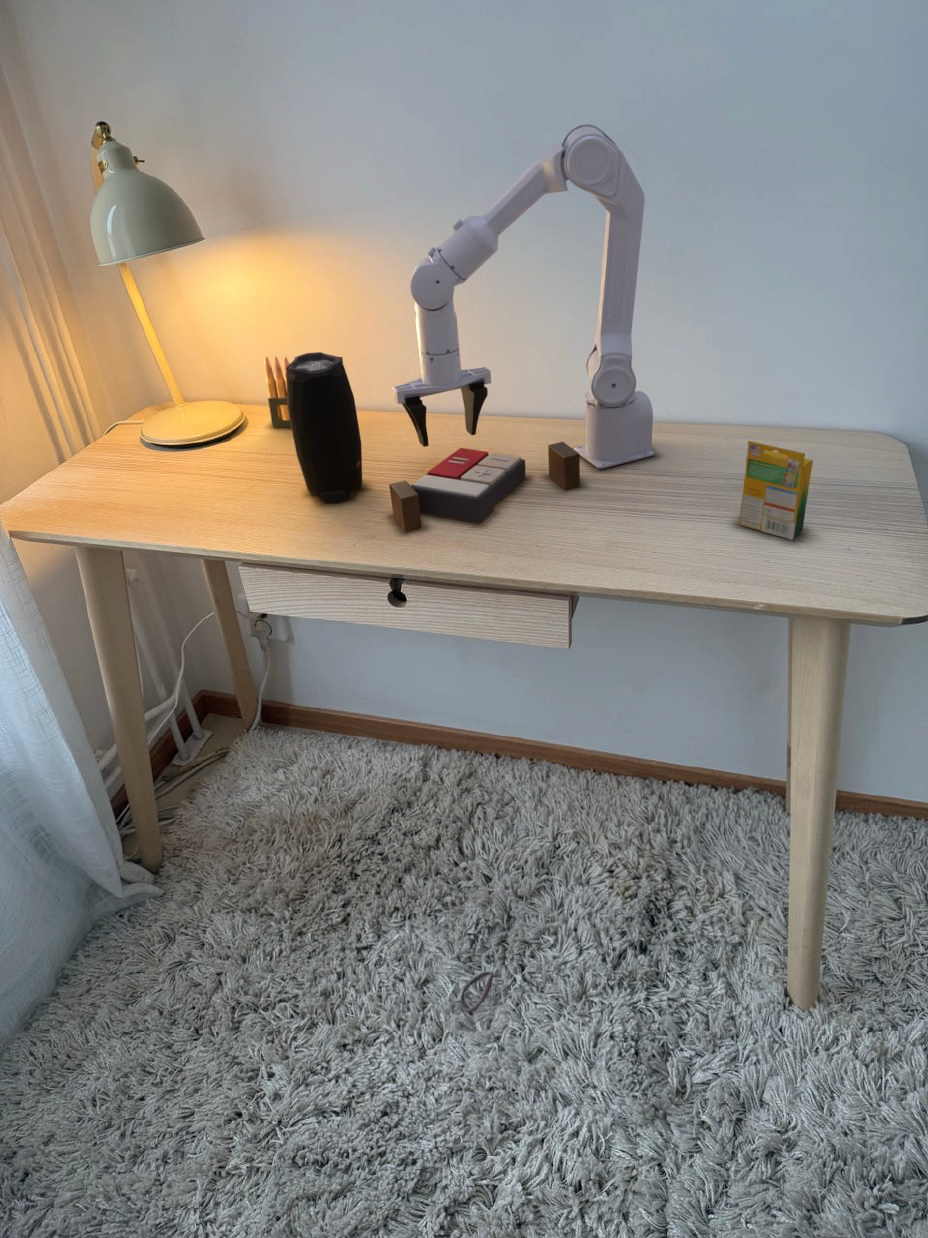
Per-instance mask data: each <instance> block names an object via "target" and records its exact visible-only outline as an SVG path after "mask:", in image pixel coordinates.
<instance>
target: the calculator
mask: <svg viewBox="0 0 928 1238" xmlns="http://www.w3.org/2000/svg"><path fill="white" fill-rule="evenodd" d="M525 480H526V459H524V458H522V457H521V456H520V455H512V454H506V453H499V452H491V453H489V452H488V451H485V450H478V449H471V448H464V447H460V448H458V449H457V450H455V451H454V452H452V453H451V454H450V455H448V456H447V457H445V458H444V459H443V460H442V461H440V462H439V463H438V464H436V465H435V466H433V467H432V468H431V469H430V470H428V471H427V473H426V474H424V475H422V477H420V478H419V479H417V480H416V481H414V483H412V484H411V485H410V486H411V487H412V488H413V489H414V490H415V492H416V493H417V494H418V498H419V507H420V514H421V513H422V514H426V515H431V516H432V515H433V516H438V517H443V518H448V519H453V520H459V521H463V522H471V523H475V524H480V523H482V522H483V521H484V520H486V519H487V518H488V517H489V516H490V515H491V514H492V513H493V511H494V509H495V507H496V505H498V503H500V502H501V501H502V500H503V499H504V498H506V496H508V495H509V494H510V493H511V492H512V491H514V489H516V488H517V487H518V486H519V485H520V484H521V483H522V482H524V481H525Z"/></svg>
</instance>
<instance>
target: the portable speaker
mask: <svg viewBox="0 0 928 1238" xmlns="http://www.w3.org/2000/svg"><path fill="white" fill-rule="evenodd" d="M295 357H296V358H295V359H294V358H293V360H292V361H291V362H289V365H288V366H287V367H286V381H287V407H288V413H289V418H290V423H291V427H290V428H291V433H292V439H293V442H294V448H295V453H296V457H297V461H298V465H299V466H300V470H301V473H302V476H303V480H304V482H305V485H306V489H307V491H308V492H309V494H310V495H312V494H313V495H314V496H316V497H318V498H319V499H320V500H322V501H323V502H324V503H326V504H332V503H333V504H334V503H339V502H340V503H341V502H344V501H347V500H350V498H351V496H352V495H353V493H354V492H355V491H356V490H358V489H360V488H363V458H362V457H363V456H362V453H363V452H362V449H363V448H362V439H361V433H360V426H359V419H358V414H357V407H356V401H355V396H354V393H353V389H352V387H351V384H350V380H349V378H348V374H347V371H346V368H345V364H344V360H343V356H337V355H332V354H327V353H325V352H322V351H318V352H306V353H303V354H300V355H296V356H295Z"/></svg>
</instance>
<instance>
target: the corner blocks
mask: <svg viewBox="0 0 928 1238" xmlns="http://www.w3.org/2000/svg"><path fill="white" fill-rule="evenodd" d="M547 453H548V456H547V457H548V478H550V480H552V481H553V482H554V483H556V484H557V485H558V487H560V488H562V489H563V490H564V491H567V490H571V489H574V488H575V489H576V488H578V487H580V486H581V478H580V477H581V475H580V474H581V463H580V462H581V455H580V454H579V453H578V452H576V451H575V450H574V448H572V447H571V446H570V445H568V444H567V443H565V441H559V442H556V443H551V444H548V445H547ZM388 486H389V494H390V499H391V500H390V502H391V509H392V516H393V518H394V520H395V521H396V522H397V523H398V525H399V526H400V527H401V528H402V530H403V531H404V532H405V533H407V532H410V531H414V530H418V529H422V528H423V525H422V518H421V517H422V516H421V513H420V507H419V498H418V494H417V493H416V492H415V490H414V489H413V488H412V487H411V485H410V483H409V482H407V480H406V479H404V480H401V481H398V482H393V483H389V484H388Z"/></svg>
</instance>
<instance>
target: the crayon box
mask: <svg viewBox="0 0 928 1238" xmlns="http://www.w3.org/2000/svg"><path fill="white" fill-rule="evenodd" d="M805 456H806V453H805V452H801V451H796V450H791V449H787V448H782V447H778V446H774V445H771V444H770V445H769V444H765V443H760V442H755V441H751V440H748V442H747V454H746V458H745V459H746V460H745V469H744V478H743V486H742V495H741V505H740V513H739V521H738V524H739V526H740V527H744V528H749V529H753V530H756V531H759V532H764V533H768V534H770V535H773V536H778V537H781V538H785V539H788V540H790V541H793V540H794V539H796V537H798V536H799V535H800V534H801V533H803V531H804V523H805V516H806V509H807V502H808V496H809V491H810V490H809V489H810V483H811V476H812V468H813V459H810V458H806V457H805Z"/></svg>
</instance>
